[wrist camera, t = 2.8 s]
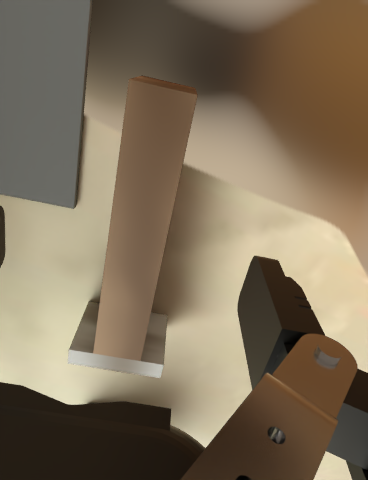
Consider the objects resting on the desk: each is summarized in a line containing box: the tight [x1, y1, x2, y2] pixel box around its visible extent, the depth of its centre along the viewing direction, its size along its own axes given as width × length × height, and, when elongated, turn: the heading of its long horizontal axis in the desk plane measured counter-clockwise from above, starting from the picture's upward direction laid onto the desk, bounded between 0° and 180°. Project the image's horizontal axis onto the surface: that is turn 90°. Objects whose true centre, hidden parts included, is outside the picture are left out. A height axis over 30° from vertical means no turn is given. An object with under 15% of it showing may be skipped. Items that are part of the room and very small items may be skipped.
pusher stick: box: [68, 76, 197, 378], centre depth 21 cm, size 6×17×5 cm, turn 168°
